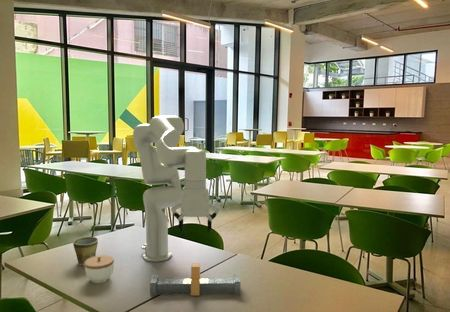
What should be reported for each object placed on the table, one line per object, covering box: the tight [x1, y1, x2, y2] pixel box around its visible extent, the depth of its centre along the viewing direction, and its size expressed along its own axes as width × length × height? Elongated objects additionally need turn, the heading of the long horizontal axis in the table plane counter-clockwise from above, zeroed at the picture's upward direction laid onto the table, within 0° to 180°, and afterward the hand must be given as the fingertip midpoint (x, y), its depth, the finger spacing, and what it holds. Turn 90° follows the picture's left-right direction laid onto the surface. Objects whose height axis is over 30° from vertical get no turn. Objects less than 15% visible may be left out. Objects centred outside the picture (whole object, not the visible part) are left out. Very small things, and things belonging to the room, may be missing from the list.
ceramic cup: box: [72, 236, 99, 267], centre depth 159 cm, size 13×10×10 cm
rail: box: [149, 273, 241, 297], centre depth 133 cm, size 32×6×5 cm, turn 92°
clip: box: [190, 262, 201, 296], centre depth 133 cm, size 8×3×10 cm, turn 2°
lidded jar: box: [84, 254, 114, 284], centre depth 142 cm, size 11×11×9 cm
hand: (195, 230), depth 132 cm, fingers open, 9 cm apart
